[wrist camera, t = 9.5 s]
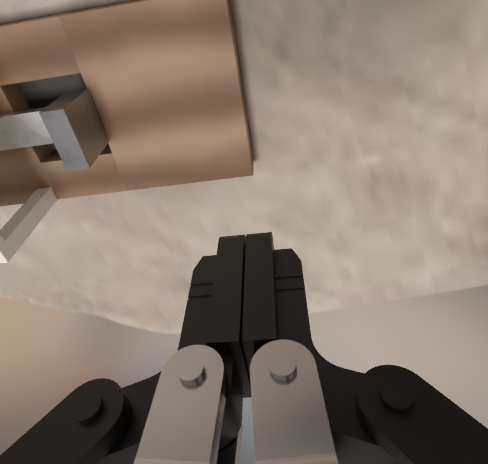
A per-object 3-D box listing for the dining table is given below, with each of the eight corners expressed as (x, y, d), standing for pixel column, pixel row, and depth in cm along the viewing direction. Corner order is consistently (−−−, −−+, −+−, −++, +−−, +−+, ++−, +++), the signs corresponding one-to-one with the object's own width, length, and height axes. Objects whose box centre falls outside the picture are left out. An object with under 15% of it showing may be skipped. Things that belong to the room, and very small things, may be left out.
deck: (-199, 60, 35) (-232, 68, 32) (226, -17, 30) (224, -14, 28) (-83, 204, 44) (-102, 218, 42) (253, 161, 40) (253, 175, 37)
